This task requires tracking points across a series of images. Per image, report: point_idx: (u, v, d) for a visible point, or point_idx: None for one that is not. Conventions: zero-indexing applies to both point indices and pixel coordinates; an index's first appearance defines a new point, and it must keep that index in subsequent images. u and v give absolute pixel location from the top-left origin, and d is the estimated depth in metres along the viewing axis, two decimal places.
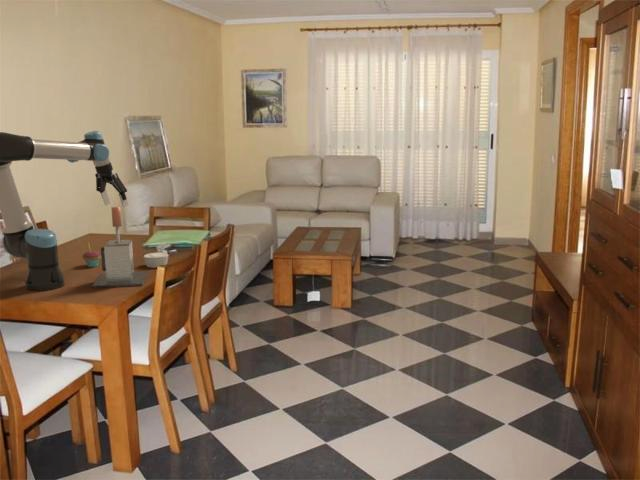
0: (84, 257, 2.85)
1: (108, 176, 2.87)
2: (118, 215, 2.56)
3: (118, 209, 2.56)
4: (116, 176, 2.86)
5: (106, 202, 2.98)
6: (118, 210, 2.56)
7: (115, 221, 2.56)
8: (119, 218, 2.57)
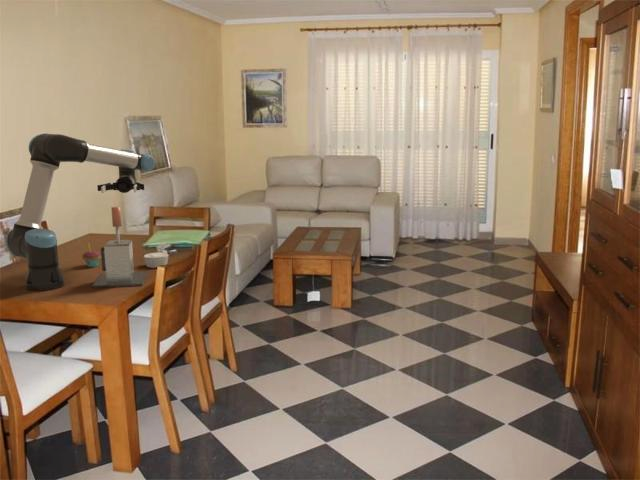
0: (84, 257, 2.85)
1: None
2: (118, 215, 2.56)
3: (118, 209, 2.56)
4: None
5: (103, 188, 2.67)
6: (118, 210, 2.56)
7: (115, 221, 2.56)
8: (119, 218, 2.57)
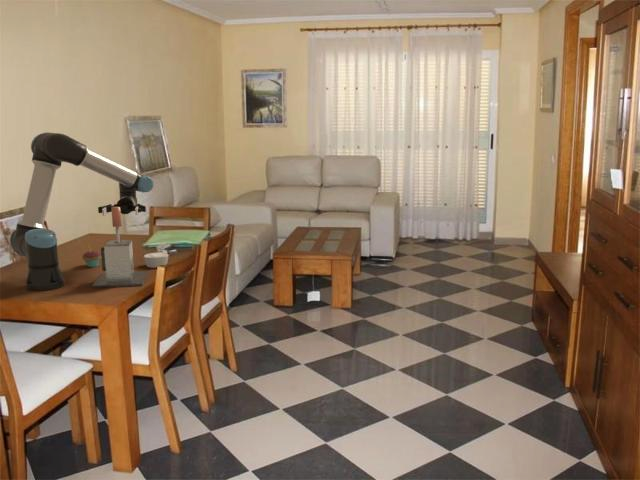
0: (84, 257, 2.85)
1: None
2: (118, 215, 2.56)
3: (118, 209, 2.56)
4: None
5: (104, 210, 2.63)
6: (118, 210, 2.56)
7: (115, 221, 2.56)
8: (119, 218, 2.57)
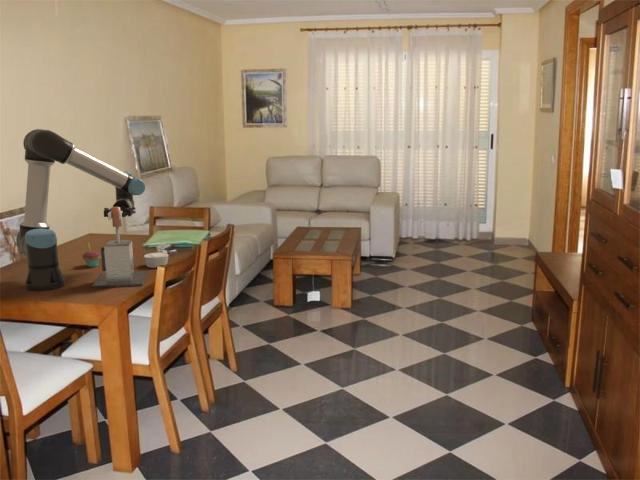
0: (84, 257, 2.85)
1: (127, 207, 2.69)
2: (118, 215, 2.56)
3: (118, 209, 2.56)
4: (134, 211, 2.68)
5: (110, 214, 2.53)
6: (118, 210, 2.56)
7: (115, 221, 2.56)
8: None
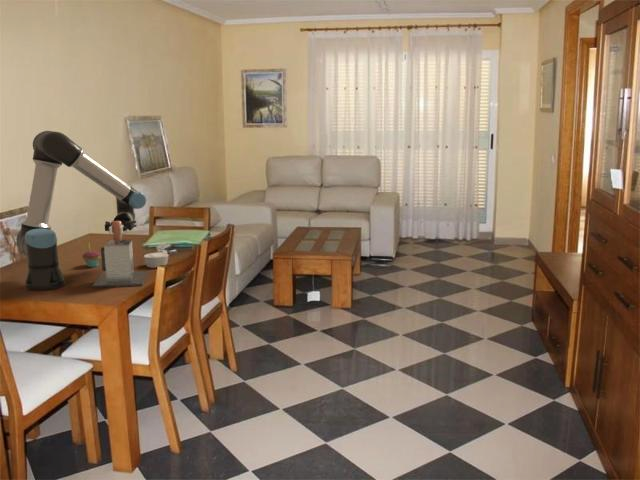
0: (84, 257, 2.85)
1: (127, 220, 2.71)
2: (119, 229, 2.57)
3: (119, 223, 2.57)
4: (135, 224, 2.69)
5: (111, 229, 2.54)
6: (119, 224, 2.57)
7: (116, 235, 2.57)
8: None
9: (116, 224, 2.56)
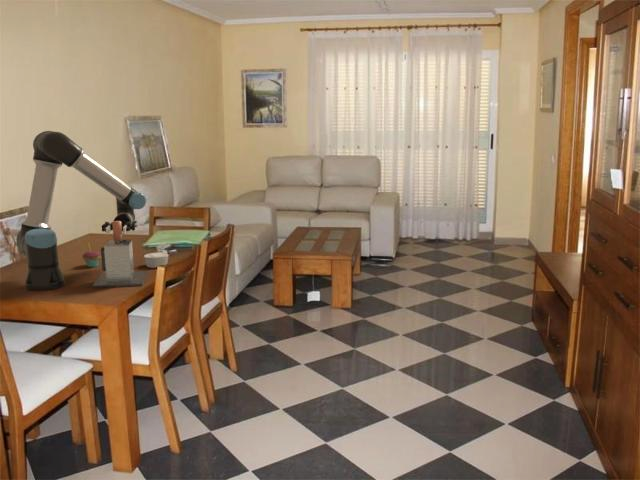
0: (84, 257, 2.85)
1: (127, 221, 2.71)
2: (119, 229, 2.57)
3: (119, 223, 2.57)
4: (135, 224, 2.70)
5: (108, 229, 2.54)
6: (119, 224, 2.57)
7: (116, 235, 2.57)
8: (120, 232, 2.58)
9: (116, 224, 2.56)
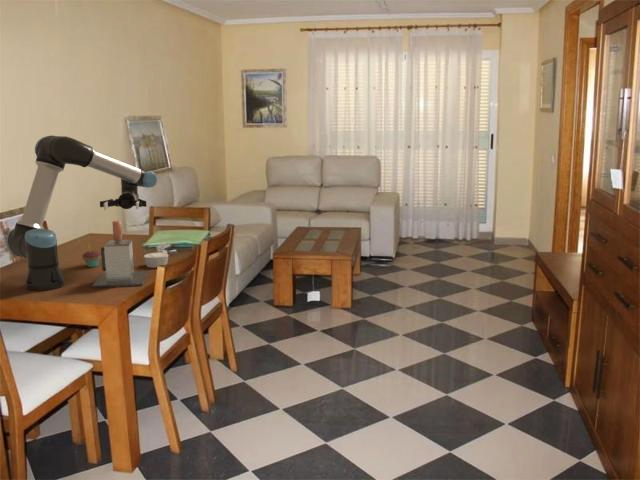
0: (84, 257, 2.85)
1: (131, 199, 2.83)
2: (119, 229, 2.57)
3: (119, 223, 2.57)
4: None
5: (106, 204, 2.68)
6: (119, 224, 2.57)
7: (116, 235, 2.57)
8: (120, 232, 2.58)
9: (116, 224, 2.56)
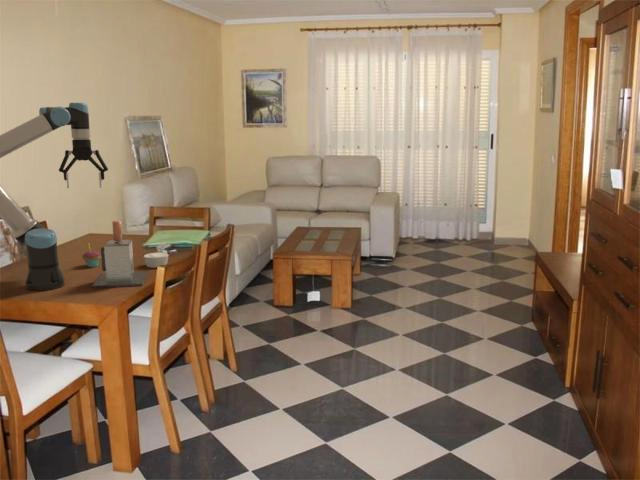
0: (84, 257, 2.85)
1: (88, 152, 2.65)
2: (119, 229, 2.57)
3: (119, 223, 2.57)
4: None
5: (69, 185, 2.67)
6: (119, 224, 2.57)
7: (116, 235, 2.57)
8: (120, 232, 2.58)
9: (116, 224, 2.56)
